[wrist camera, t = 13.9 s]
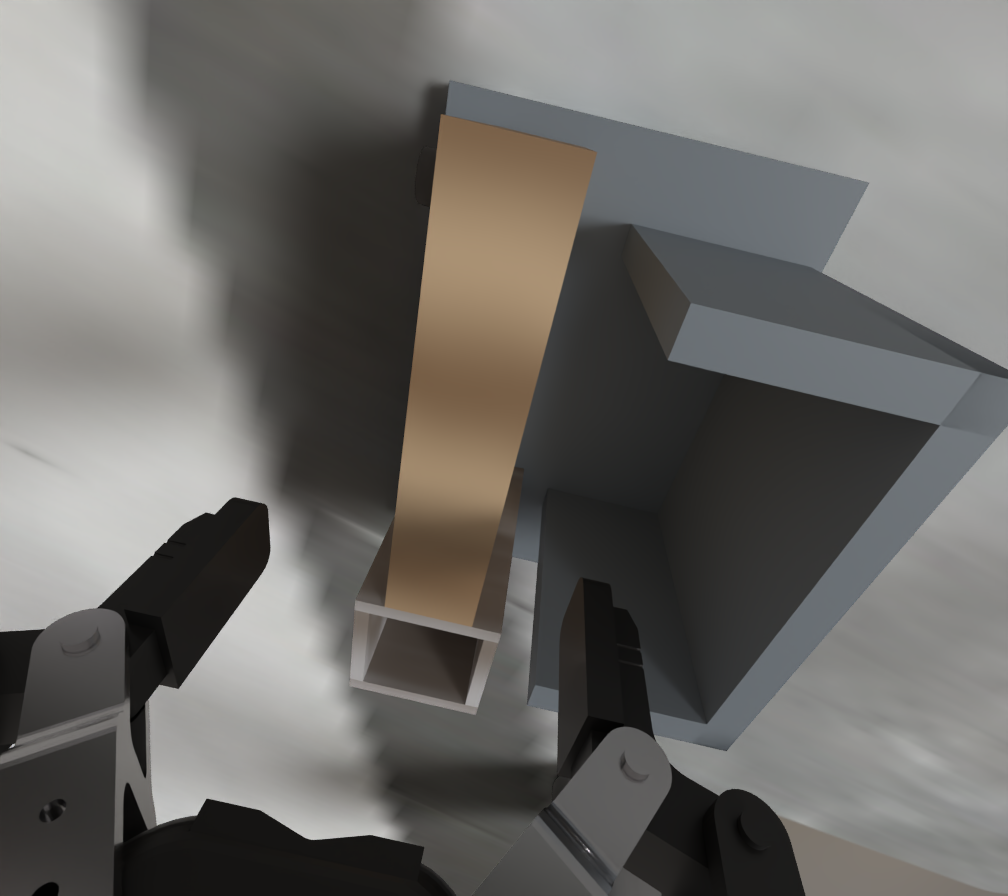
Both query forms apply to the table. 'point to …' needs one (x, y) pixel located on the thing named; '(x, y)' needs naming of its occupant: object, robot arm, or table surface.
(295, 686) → the table surface
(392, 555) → the door
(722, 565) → the grey corner bracket
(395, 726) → the table surface
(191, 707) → the table surface
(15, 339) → the table surface
